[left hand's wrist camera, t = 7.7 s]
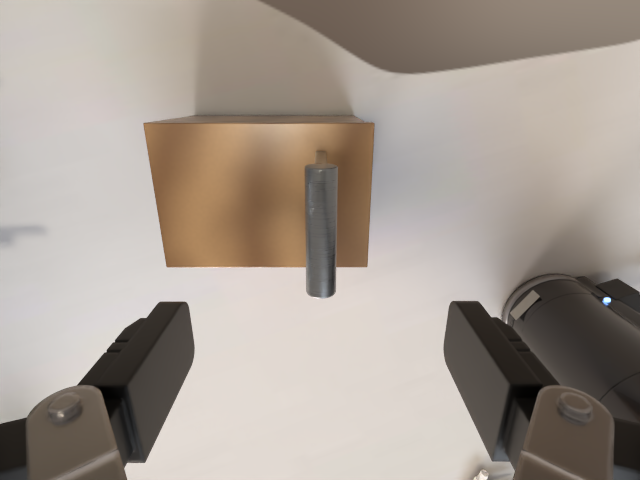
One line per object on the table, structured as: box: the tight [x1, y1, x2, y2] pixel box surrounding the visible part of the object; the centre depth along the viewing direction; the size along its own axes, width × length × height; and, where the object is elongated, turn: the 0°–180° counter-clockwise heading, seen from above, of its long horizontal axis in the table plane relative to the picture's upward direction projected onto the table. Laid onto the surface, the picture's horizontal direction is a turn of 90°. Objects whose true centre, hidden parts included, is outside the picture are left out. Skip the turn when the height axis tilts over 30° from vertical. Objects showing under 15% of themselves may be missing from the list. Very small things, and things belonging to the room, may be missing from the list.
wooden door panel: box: [144, 122, 374, 298], centre depth 23 cm, size 15×10×8 cm
